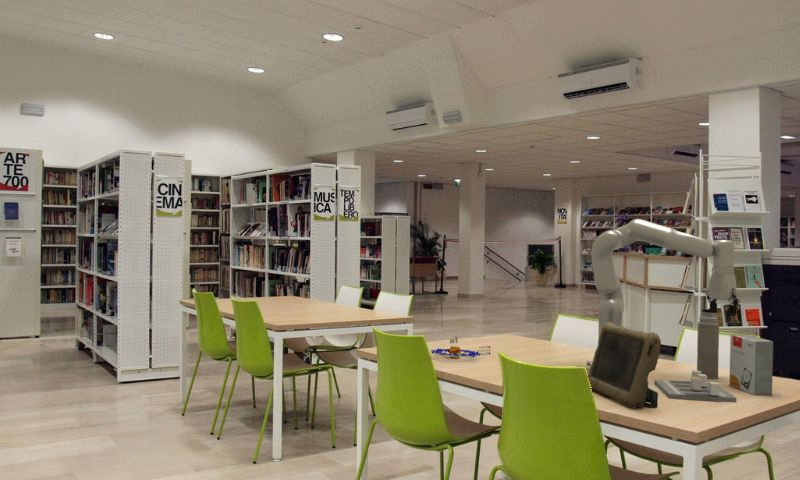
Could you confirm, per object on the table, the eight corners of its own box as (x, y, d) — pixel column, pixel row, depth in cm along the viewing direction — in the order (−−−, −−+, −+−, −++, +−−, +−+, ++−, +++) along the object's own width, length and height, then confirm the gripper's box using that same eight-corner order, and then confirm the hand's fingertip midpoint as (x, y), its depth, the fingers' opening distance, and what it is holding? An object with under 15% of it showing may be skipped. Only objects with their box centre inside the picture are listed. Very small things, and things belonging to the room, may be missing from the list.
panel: (669, 398, 230) (670, 394, 230) (654, 383, 254) (654, 379, 254) (736, 402, 226) (736, 397, 226) (714, 386, 251) (714, 382, 251)
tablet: (578, 388, 244) (579, 321, 244) (610, 386, 248) (612, 320, 248) (632, 410, 213) (633, 333, 213) (668, 408, 217) (669, 333, 217)
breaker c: (699, 386, 242) (699, 375, 242) (697, 384, 245) (697, 373, 245) (706, 386, 241) (707, 376, 241) (704, 385, 244) (704, 374, 244)
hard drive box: (728, 385, 254) (729, 334, 254) (747, 385, 254) (748, 334, 254) (753, 395, 238) (754, 340, 238) (773, 395, 239) (774, 340, 239)
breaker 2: (711, 395, 228) (711, 383, 228) (708, 393, 231) (708, 381, 231) (719, 395, 228) (719, 384, 228) (716, 393, 231) (716, 382, 231)
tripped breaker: (693, 390, 235) (693, 378, 236) (690, 388, 239) (691, 376, 239) (701, 390, 235) (701, 378, 235) (698, 388, 238) (698, 376, 238)
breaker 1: (694, 382, 249) (694, 371, 249) (691, 380, 252) (692, 370, 252) (701, 382, 248) (701, 372, 248) (699, 381, 251) (699, 370, 251)
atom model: (472, 352, 325) (473, 331, 325) (509, 360, 304) (510, 337, 304) (416, 355, 304) (417, 333, 305) (452, 364, 283) (453, 339, 284)
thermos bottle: (715, 375, 273) (716, 308, 273) (720, 379, 265) (721, 310, 265) (694, 374, 274) (696, 308, 274) (699, 378, 266) (700, 310, 266)
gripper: (699, 270, 266) (698, 312, 266) (733, 272, 250) (733, 316, 249) (713, 270, 268) (713, 311, 268) (748, 272, 252) (748, 316, 252)
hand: (722, 314), depth 259 cm, fingers open, 9 cm apart
